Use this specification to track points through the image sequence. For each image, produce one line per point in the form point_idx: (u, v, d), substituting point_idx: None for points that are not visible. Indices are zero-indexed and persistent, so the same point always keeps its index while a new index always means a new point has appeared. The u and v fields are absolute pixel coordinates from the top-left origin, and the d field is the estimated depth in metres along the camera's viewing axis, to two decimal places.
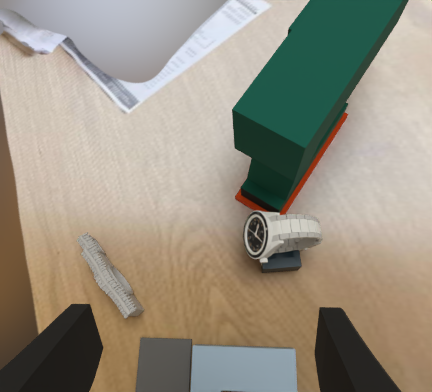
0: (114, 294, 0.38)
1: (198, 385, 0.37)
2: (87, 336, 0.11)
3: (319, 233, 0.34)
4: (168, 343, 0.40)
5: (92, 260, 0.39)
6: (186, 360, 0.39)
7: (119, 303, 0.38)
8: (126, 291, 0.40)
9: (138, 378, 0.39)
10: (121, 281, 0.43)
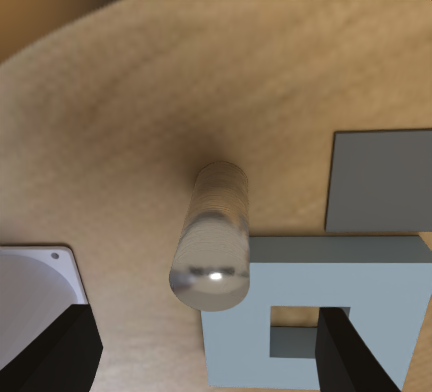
0: None
1: (362, 274, 0.19)
2: (87, 336, 0.11)
3: None
4: None
5: None
6: (393, 225, 0.20)
7: None
8: None
9: (371, 136, 0.18)
10: None
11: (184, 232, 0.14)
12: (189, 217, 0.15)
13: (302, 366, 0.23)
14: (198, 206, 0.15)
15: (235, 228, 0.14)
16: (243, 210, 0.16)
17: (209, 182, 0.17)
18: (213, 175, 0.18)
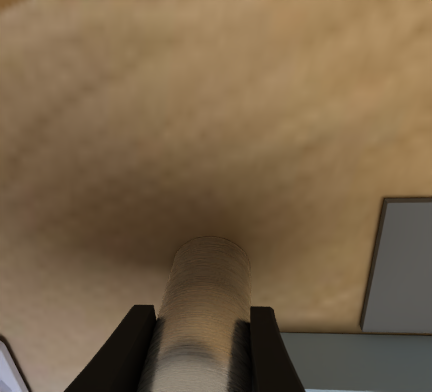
0: None
1: None
2: None
3: None
4: None
5: None
6: None
7: None
8: None
9: None
10: None
11: None
12: (149, 369, 0.09)
13: None
14: (166, 347, 0.09)
15: None
16: (242, 346, 0.09)
17: (188, 282, 0.11)
18: (196, 267, 0.11)
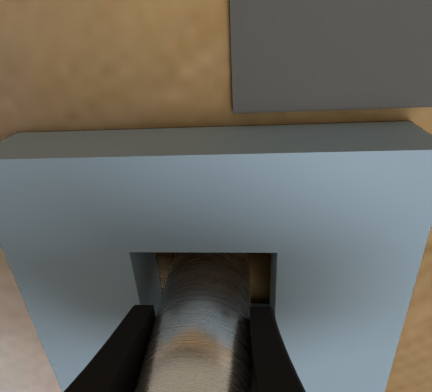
0: None
1: (293, 181, 0.09)
2: None
3: None
4: None
5: None
6: (360, 94, 0.10)
7: None
8: None
9: None
10: None
11: None
12: (146, 367, 0.09)
13: None
14: (162, 344, 0.09)
15: None
16: (240, 341, 0.09)
17: (185, 279, 0.11)
18: (193, 264, 0.11)
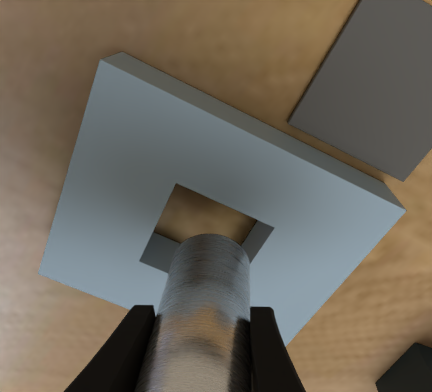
0: None
1: (313, 186, 0.14)
2: None
3: None
4: None
5: None
6: (368, 152, 0.15)
7: None
8: None
9: (414, 3, 0.13)
10: None
11: None
12: (146, 367, 0.09)
13: None
14: (162, 345, 0.09)
15: None
16: (239, 341, 0.09)
17: (185, 280, 0.11)
18: (193, 264, 0.11)
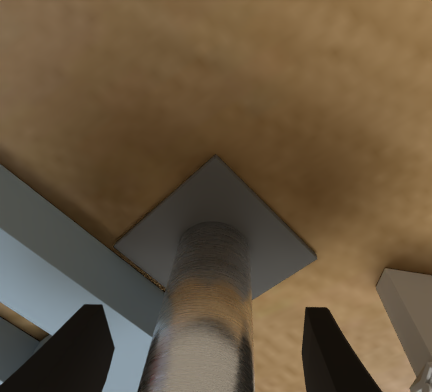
0: None
1: None
2: (100, 336, 0.11)
3: None
4: None
5: None
6: None
7: None
8: None
9: (243, 192, 0.13)
10: None
11: (147, 374, 0.08)
12: (158, 335, 0.09)
13: None
14: (173, 316, 0.10)
15: (230, 366, 0.08)
16: (243, 315, 0.10)
17: (192, 261, 0.12)
18: (199, 247, 0.12)
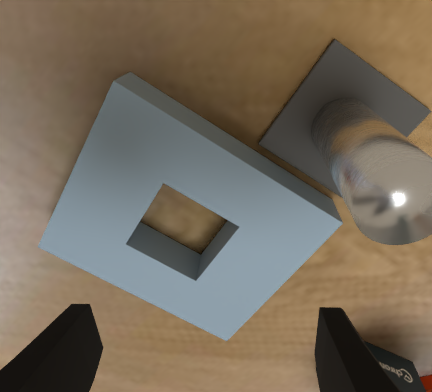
0: None
1: (272, 197, 0.17)
2: (87, 336, 0.11)
3: None
4: None
5: None
6: (320, 174, 0.19)
7: None
8: None
9: (361, 65, 0.16)
10: None
11: (348, 162, 0.12)
12: (340, 150, 0.13)
13: (153, 271, 0.20)
14: (346, 137, 0.13)
15: (409, 141, 0.12)
16: (397, 130, 0.13)
17: (339, 116, 0.15)
18: (339, 110, 0.16)
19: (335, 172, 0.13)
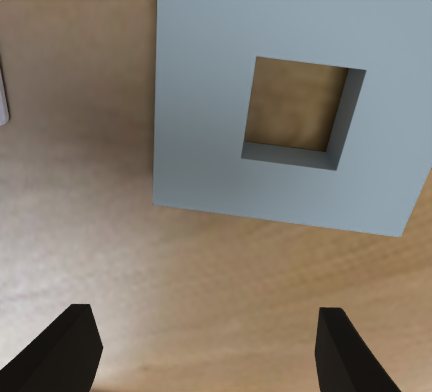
0: None
1: (395, 5, 0.13)
2: (87, 336, 0.11)
3: None
4: None
5: None
6: None
7: None
8: None
9: None
10: None
11: None
12: None
13: (282, 179, 0.17)
14: None
15: None
16: None
17: None
18: None
19: None
